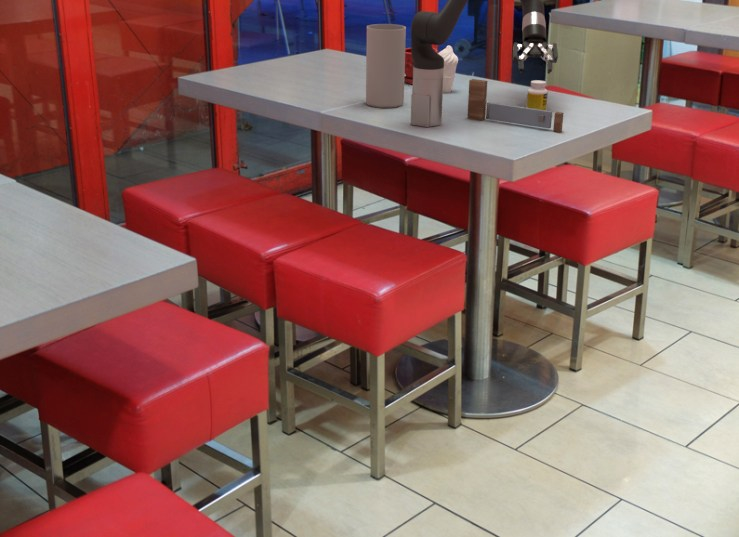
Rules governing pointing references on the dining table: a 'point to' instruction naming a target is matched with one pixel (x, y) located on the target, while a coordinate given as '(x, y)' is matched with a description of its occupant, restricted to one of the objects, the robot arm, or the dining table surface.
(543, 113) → the gate
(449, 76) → the soft serve ice cream cone
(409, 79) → the plant pot
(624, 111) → the dining table surface
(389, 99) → the cylinder vase
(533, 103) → the pill bottle
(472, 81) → the wooden blocks
